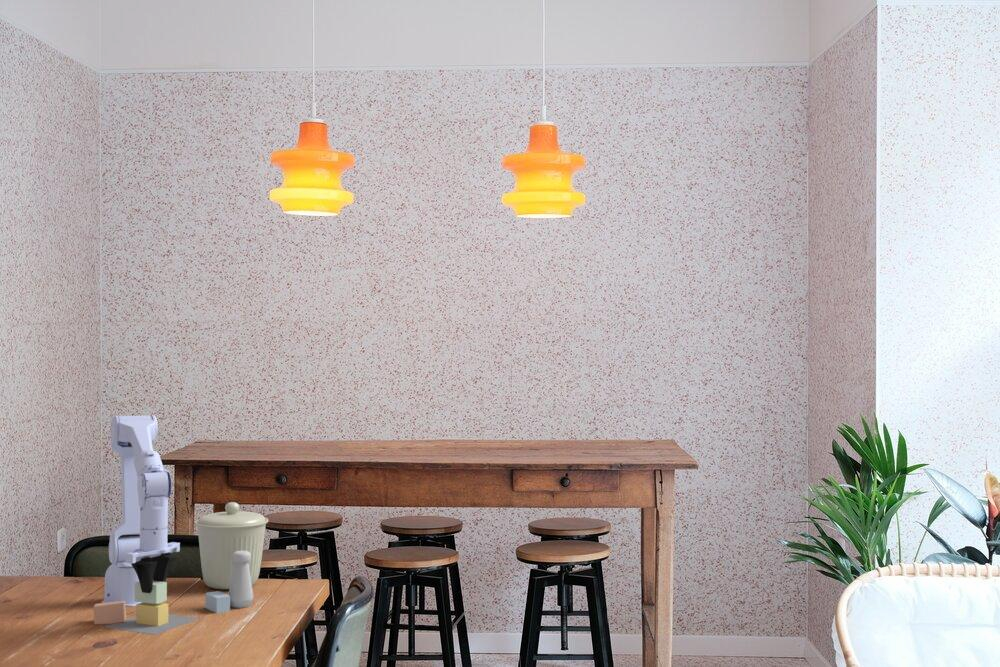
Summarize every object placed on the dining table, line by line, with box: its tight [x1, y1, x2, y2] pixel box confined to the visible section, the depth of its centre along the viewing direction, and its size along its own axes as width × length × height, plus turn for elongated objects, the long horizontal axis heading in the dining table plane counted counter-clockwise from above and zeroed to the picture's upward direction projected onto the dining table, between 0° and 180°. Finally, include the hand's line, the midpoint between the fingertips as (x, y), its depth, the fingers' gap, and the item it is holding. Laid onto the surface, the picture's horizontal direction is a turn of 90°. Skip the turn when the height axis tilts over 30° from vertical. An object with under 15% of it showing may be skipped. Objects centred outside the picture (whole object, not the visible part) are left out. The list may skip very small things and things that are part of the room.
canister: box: [194, 501, 269, 591], centre depth 253 cm, size 18×18×21 cm
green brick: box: [135, 581, 168, 604], centre depth 216 cm, size 6×3×4 cm, turn 67°
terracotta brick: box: [93, 601, 127, 625], centre depth 216 cm, size 6×3×4 cm, turn 104°
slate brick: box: [204, 590, 231, 614], centre depth 227 cm, size 6×3×4 cm, turn 41°
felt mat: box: [103, 613, 200, 636], centre depth 215 cm, size 14×14×1 cm
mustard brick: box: [135, 602, 170, 626], centre depth 215 cm, size 6×3×4 cm, turn 67°
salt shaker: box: [227, 551, 254, 609], centre depth 231 cm, size 6×6×13 cm
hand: (152, 590), depth 216 cm, fingers closed on green brick, 3 cm apart
